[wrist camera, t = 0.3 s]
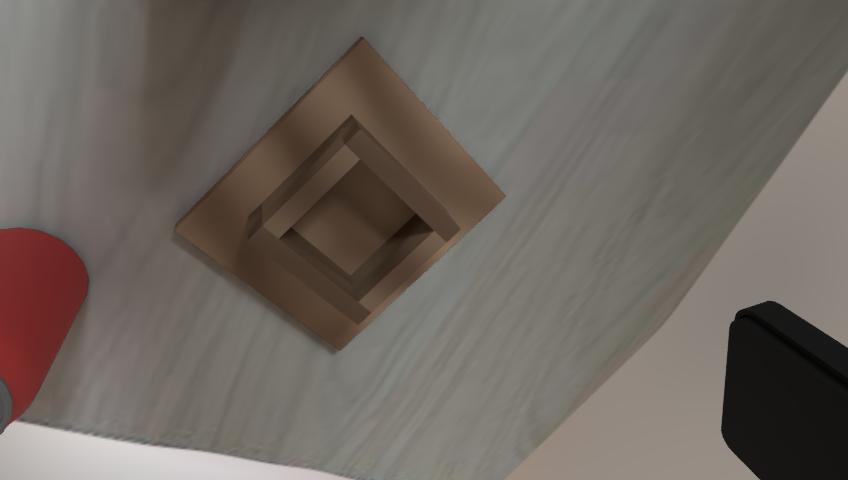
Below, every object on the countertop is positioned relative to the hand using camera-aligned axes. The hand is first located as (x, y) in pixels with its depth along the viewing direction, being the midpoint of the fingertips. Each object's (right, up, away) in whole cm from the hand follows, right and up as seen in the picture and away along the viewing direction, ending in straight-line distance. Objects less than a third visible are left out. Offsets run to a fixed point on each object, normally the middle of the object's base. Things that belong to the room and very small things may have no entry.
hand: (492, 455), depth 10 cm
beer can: (-25, +2, +25) cm, 35 cm away
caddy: (-6, +6, +29) cm, 30 cm away
